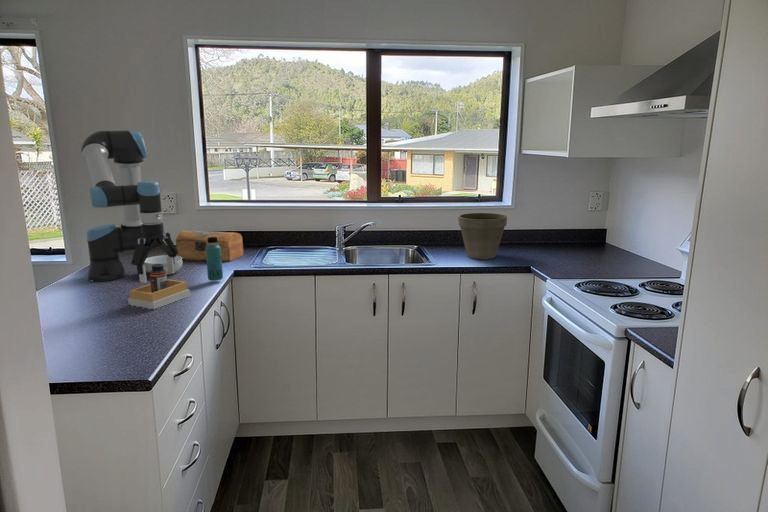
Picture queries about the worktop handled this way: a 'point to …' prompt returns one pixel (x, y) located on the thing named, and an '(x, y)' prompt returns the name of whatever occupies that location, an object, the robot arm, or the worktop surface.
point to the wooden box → (195, 244)
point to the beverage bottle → (214, 260)
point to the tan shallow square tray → (159, 294)
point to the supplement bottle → (158, 278)
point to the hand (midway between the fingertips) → (157, 277)
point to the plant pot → (482, 233)
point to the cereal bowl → (162, 262)
